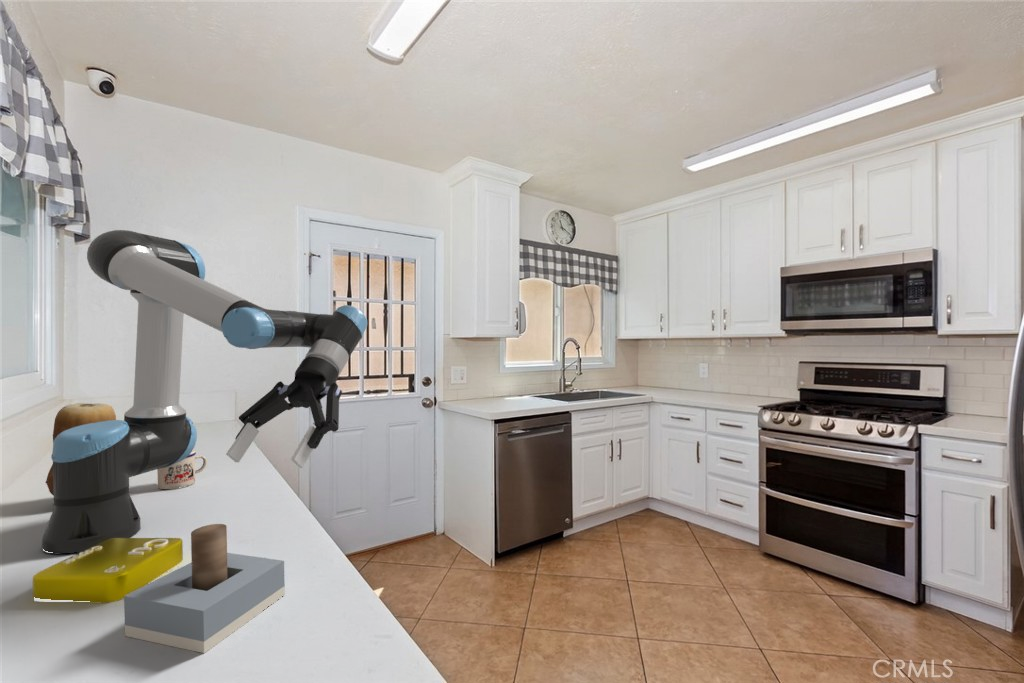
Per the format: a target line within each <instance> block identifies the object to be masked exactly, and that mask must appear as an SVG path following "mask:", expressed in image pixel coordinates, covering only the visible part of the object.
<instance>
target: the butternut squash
mask: <svg viewBox="0 0 1024 683" xmlns="http://www.w3.org/2000/svg"><path fill="white" fill-rule="evenodd" d="M109 420H117V417H116V413H115V410H114V408H113V406H112V405H109V404H107V403H106V404H105V403H85V402H83V403H82V402H78V403H72V404H67V405H65V406H64V407H61V408H60V409H59V410H58V411H57V414H56V416H55V418H54V423H53V430H52V431H53V432H52V443H53V442H54V439H55V438H56V437H57V435H58V434H60V433H61V432H63V431H65V430H68V429H71V428H73V427H77V426H81V425H85V424H89V423H97V422H101V421H109ZM45 484H46V486H47V488H48V491H49V493H50V494H51V495H52V496H53V497H54V490H53V463H52V465H51V466H50V468H49V471H48V473H47V476H46V479H45Z"/></svg>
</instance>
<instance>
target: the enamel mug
mask: <svg viewBox="0 0 1024 683" xmlns="http://www.w3.org/2000/svg"><path fill="white" fill-rule="evenodd" d="M196 454H197V452H196V450H194V449H193V450H192V452H191V453H190V454H189V455H188V456H187V457H186V458H185V459H184V460H182V461H180V462H178V463H175V464H173V465H171V466H169V467H165V468H160V469H156V471H157V488H158V489H159V490H162V489H171V490H175V489H174V488H179V487H183V488H185V487H184V486H187V485H190V484H192V485H194V484H195V483H196V474H198V473H199V474H200V473H201V472H203V471H204V470H205V469H206V467H207V464H208V460H207V457H206V456H204V455H201V454H200V455H196ZM196 459H202V460H203V462H202V463H203V464H202V465H201V467H200V468H198V469H197V470H196ZM193 483H194V484H193ZM190 486H191V485H190ZM187 487H188V486H187ZM179 489H180V488H179Z"/></svg>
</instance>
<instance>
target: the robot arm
mask: <svg viewBox="0 0 1024 683" xmlns="http://www.w3.org/2000/svg"><path fill="white" fill-rule="evenodd" d="M86 259H87V263H88V265H89V268H90V269H91V271H92V272H93V273H94V274H95V275H96V276H97V277H99V278H100V279H102V280H104V281H105V282H107V283H109V284H111V285H113V286H115V287H117V288H120V289H121V290H125V291H129V292H130V295H131V297H133V298H134V299H135V300H136V301H137V303H138V304H137V306H138V307H137V324H136V345H135V362H134V363H135V368H134V382H133V383H134V386H133V405H132V406H131V407H130V408H129V409H128V410H127V411H125V412H124V418H123V420H120V419H116V420H109V421H101V422H97V423H89V424H85V425H81V426H77V427H73V428H71V429H68V430H65V431H63V432H61V433H60V434H58V435H57V437H56V438H55V439H54V442H53V441H52V452H51V455H50V456H51V460H52V464H53V490H54V496H53V510H52V512H51V514H50V517H49V520H48V522H47V525H46V527H45V530H44V533H43V536H42V539H41V547H42V548H43V549H44V550H45V551H48V552H53V553H70V554H75V553H74V552H77V553H80V552H82V551H84V550H86V549H88V548H91V547H93V546H95V545H97V544H99V543H101V542H103V541H106V540H108V539H111V538H132V537H133V536H134V535H136V534H137V533H138V532H139V531H140V530H141V517H140V514H139V511H138V510H137V507H136V506H135V503H134V501H133V499H132V497H131V495H130V478H132V477H135V476H139V475H142V474H145V473H149V472H153V471H157V469H160V468H165V467H169V466H171V465H173V464H175V463H178V462H180V461H182V460H184V459H185V458H186V457H187V456H188V455H189V454H190V453H191V452H192V450H194V448H195V446H196V443H197V438H198V431H197V427H196V425H193V424H194V422H193V420H192V419H191V418H190V417H188V416H187V410H186V409H185V408H184V407H182V406H181V404H180V390H181V389H180V388H181V370H182V354H183V353H182V350H183V331H184V330H183V329H184V314H185V315H186V316H188V317H190V318H193V319H195V320H196V321H199V322H200V323H203V324H204V325H206V326H209V327H211V328H213V329H215V330H217V331H219V332H221V333H222V334H223V337H224V338H225V339H226V340H227V343H228V344H229V345H232V346H233V347H235V348H241V349H243V348H244V349H249V350H256V349H264V348H265V349H266V348H269V349H270V348H295V347H296V348H297V347H298V348H309V349H308V351H307V353H306V354H305V357H304V359H302V361H300V364H299V365H298V367H297V369H296V370H295V372H294V379H293V381H292V382H291V383H290V384H284V382H283V381H278V382H276V383H275V385H274V386H273V387H272V389H271V390H269V391H267V393H266V394H264V396H262V397H261V398H260V399H258V400H257V401H256V402H255V403H254V404H253V405H251V406H250V407H249V408H248V409H247V410H245V411H244V412H243V413H242V414H240V415H239V416H238V420H239V421H241V423H242V424H243V426H242V427H241V429H240V430H239V431H238V433H237V435H236V436H235V438H234V439H235V440H234V442H233V443H232V445H231V446H230V447H229V448H228V450H227V451H226V453H225V456H228V458H230V459H231V460H232V461H233V462H234V463H240V462H241V460H242V458H243V457H244V455H245V454H246V453H247V450H248V449H249V448H250V447H251V445H252V443H253V442H254V440H255V438H256V437H257V435H258V434H259V433H260V431H259V428H261V427H262V426H264V425H266V423H269V422H270V421H271V420H273V419H274V418H277V417H278V416H279V415H280V414H282V413H283V412H286V411H291V410H293V409H294V408H295V409H296V408H304V409H310V411H311V415H312V419H313V423H312V424H313V426H312V425H309V427H308V429H307V431H306V432H305V434H304V436H303V438H302V439H301V441H300V443H299V444H298V446H297V448H296V449H295V450H294V453H293V455H292V457H291V458H290V460H291V461H292V462H293V463H294V464H295V465H296V466H297V467H298V468H299V469H303V468H304V467H305V465H306V463H307V461H308V460H309V458H310V456H311V454H312V453H313V450H315V449H317V448H318V447H319V445H320V443H321V441H322V439H323V437H324V436H325V435H326V434H328V433H329V432H331V431H332V432H333V433H334V432H335V433H336V432H337V431H338V430H339V425H340V424H339V422H340V421H339V418H340V417H339V415H340V413H339V412H340V399H341V396H342V394H343V391H342V389H341V388H340V387H339V385H338V383H337V381H338V378H340V374H341V373H342V372H343V370H344V368H345V366H346V364H347V363H348V361H349V360H350V358H351V355H352V353H353V352H354V350H355V349H356V348H357V346H358V344H360V342H361V340H362V339H363V336H364V334H365V331H366V329H367V327H368V319H367V317H366V315H365V314H364V312H363V311H361V310H360V309H359V308H357V307H356V306H353V305H346V304H344V305H341V306H339V307H337V308H336V310H333V314H325V313H320V314H319V313H314V312H313V313H311V312H302V311H296V310H295V311H293V310H278V309H267V308H264V307H262V306H259V305H258V304H255V303H253V302H251V301H249V300H247V299H244V298H242V297H241V296H238V295H237V294H234V293H232V292H231V291H228V290H225V289H224V288H222V287H220V286H217V285H215V284H213V283H211V282H208V281H207V280H205V278H206V265H205V262H204V259H203V258H202V256H201V255H200V253H198V251H197V250H196V249H195V248H194V247H193V246H191V245H189V244H186V243H182V242H180V241H177V240H173V239H170V238H169V239H168V238H163V237H159V236H154V235H149V234H144V233H141V232H137V231H133V230H128V229H127V230H125V229H115V230H111V231H105V232H103V233H101V234H100V235H98V236H97V237H94V239H93V240H92V241H91V242H90V244H89V246H88V248H87V252H86ZM325 397H326V403H325V404H326V406H325V407H326V408H325V415H324V412H323V406H322V402H321V400H322V399H324V398H325ZM286 399H287V400H288V401H287V400H286ZM309 407H310V408H309ZM42 548H41V549H42Z"/></svg>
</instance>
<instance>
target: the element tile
mask: <svg viewBox="0 0 1024 683" xmlns="http://www.w3.org/2000/svg"><path fill="white" fill-rule="evenodd" d="M183 546H184V544H183V539H182V538H180V537H129V538H111V539H108V540H106V541H103V542H101V543H99V544H97V545H95V546H93V547H91V548H88V549H86V550H84V551H82V552H77V553H75V554H73V555H72V556H70V557H68V558H65V559H64V560H61V561H59V562H57V563H55V564H53V565H51V566H49V567H47V568H44V569H43V570H40V571H38V572H37V573H35V574H34V575H33V576H32V598H33V597H35V598H40V599H51V600H73V601H90V602H101V603H100V604H108V603H113V602H118V601H122V600H124V596H125V595H127V594H129V593H131V592H133V591H135V590H137V589H139V588H141V587H143V586H145V585H147V584H149V583H151V582H153V581H155V580H157V579H158V578H159V577H160V576H162V575H163V574H166V572H168V571H169V570H172V569H173V568H174V567H176V566H178V565H179V564H180V563H181V562H182V561H184V559H183V557H184V556H183V555H184V553H183V551H184V550H183Z"/></svg>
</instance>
